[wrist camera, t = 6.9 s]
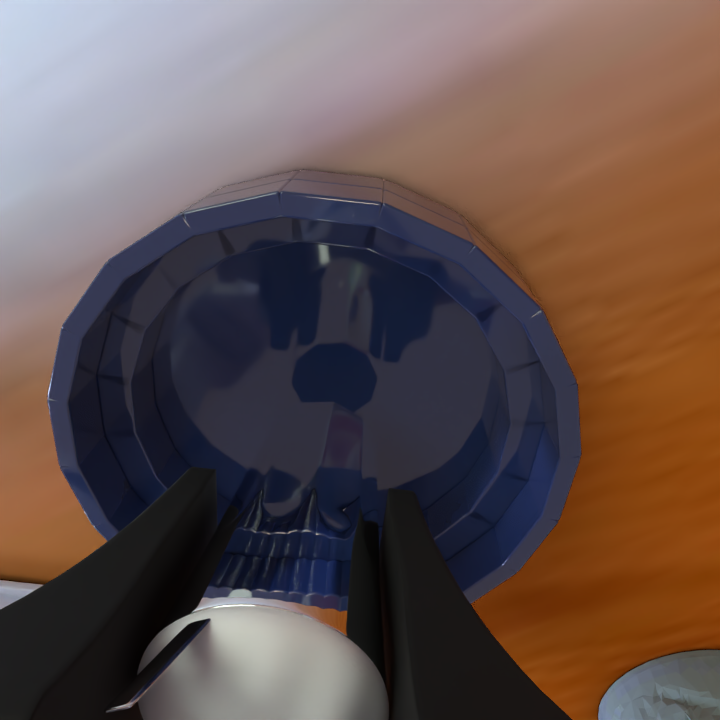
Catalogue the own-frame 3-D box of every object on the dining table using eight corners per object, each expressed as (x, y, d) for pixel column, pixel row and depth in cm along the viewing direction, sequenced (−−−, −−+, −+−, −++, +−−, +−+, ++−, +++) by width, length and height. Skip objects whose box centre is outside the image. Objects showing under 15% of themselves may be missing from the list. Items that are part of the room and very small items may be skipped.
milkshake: (351, 334, 15) (275, 677, 7) (417, 480, 18) (426, 892, 9) (211, 383, 17) (-20, 736, 8) (288, 515, 19) (178, 914, 10)
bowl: (493, 567, 23) (513, 658, 19) (132, 528, 23) (84, 612, 19) (599, 198, 16) (659, 232, 12) (88, 142, 16) (1, 160, 12)
